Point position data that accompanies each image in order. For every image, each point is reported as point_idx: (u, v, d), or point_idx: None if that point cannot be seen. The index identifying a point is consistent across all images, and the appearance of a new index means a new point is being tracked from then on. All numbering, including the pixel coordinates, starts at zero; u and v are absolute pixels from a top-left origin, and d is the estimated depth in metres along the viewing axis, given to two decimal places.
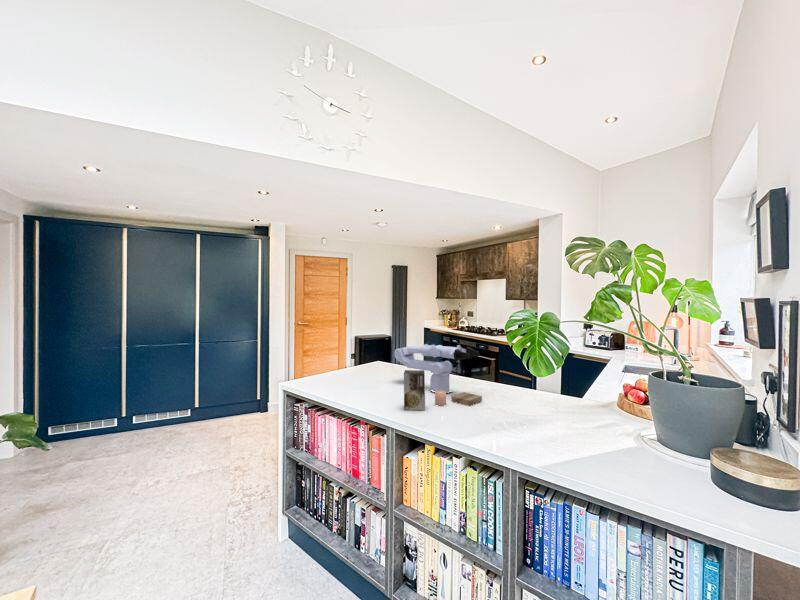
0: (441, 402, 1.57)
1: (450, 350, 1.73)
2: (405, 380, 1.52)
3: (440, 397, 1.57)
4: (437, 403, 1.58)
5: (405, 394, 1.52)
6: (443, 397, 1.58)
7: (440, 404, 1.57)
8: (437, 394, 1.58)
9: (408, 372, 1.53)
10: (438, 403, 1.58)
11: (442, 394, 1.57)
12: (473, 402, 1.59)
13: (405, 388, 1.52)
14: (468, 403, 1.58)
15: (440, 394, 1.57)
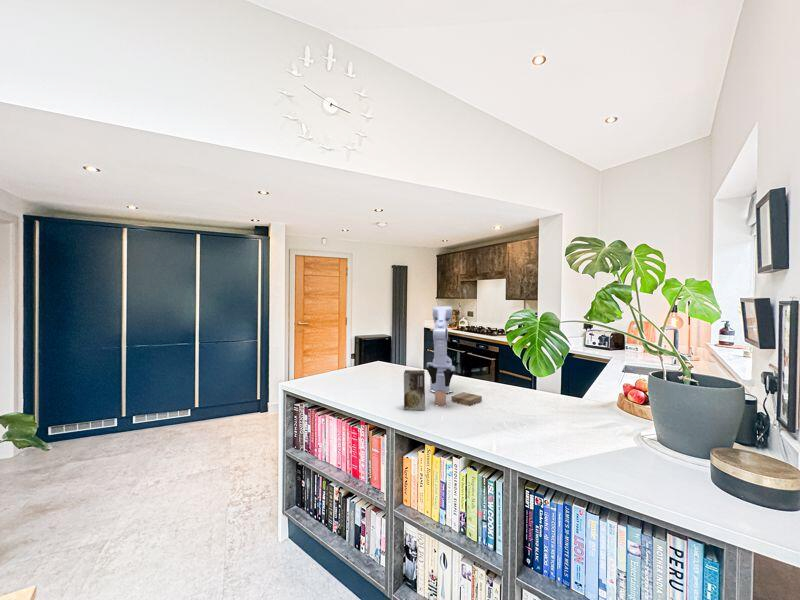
0: (441, 402, 1.57)
1: (434, 357, 1.60)
2: (405, 380, 1.52)
3: (440, 397, 1.57)
4: (437, 403, 1.58)
5: (405, 394, 1.52)
6: (443, 397, 1.58)
7: (440, 404, 1.57)
8: (437, 394, 1.58)
9: (408, 372, 1.53)
10: (438, 403, 1.58)
11: (442, 394, 1.57)
12: (473, 402, 1.59)
13: (405, 388, 1.52)
14: (468, 403, 1.58)
15: (440, 394, 1.57)
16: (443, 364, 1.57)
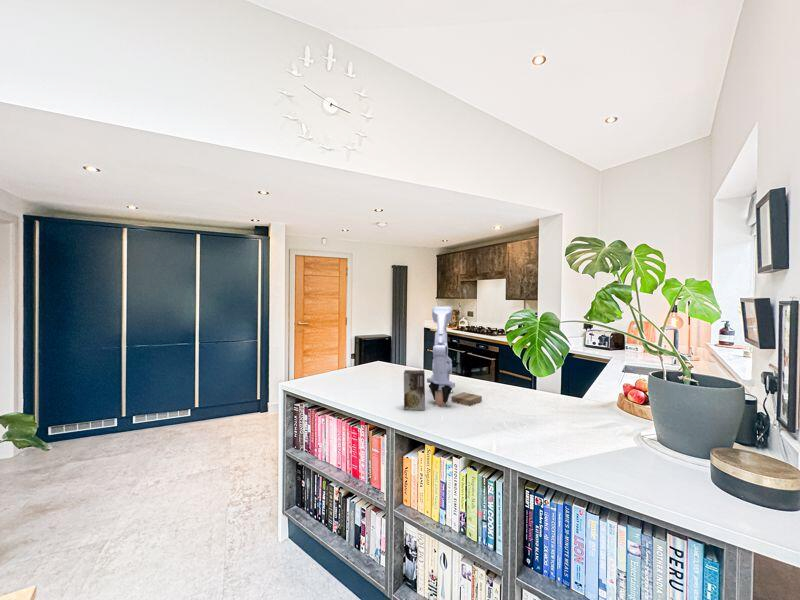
0: (441, 402, 1.57)
1: (434, 373, 1.60)
2: (405, 380, 1.52)
3: (440, 397, 1.57)
4: (437, 403, 1.58)
5: (405, 394, 1.52)
6: None
7: (440, 404, 1.57)
8: (437, 394, 1.58)
9: (408, 372, 1.53)
10: (438, 403, 1.58)
11: (442, 394, 1.57)
12: (473, 402, 1.59)
13: (405, 388, 1.52)
14: (468, 403, 1.58)
15: (440, 394, 1.57)
16: (443, 381, 1.57)
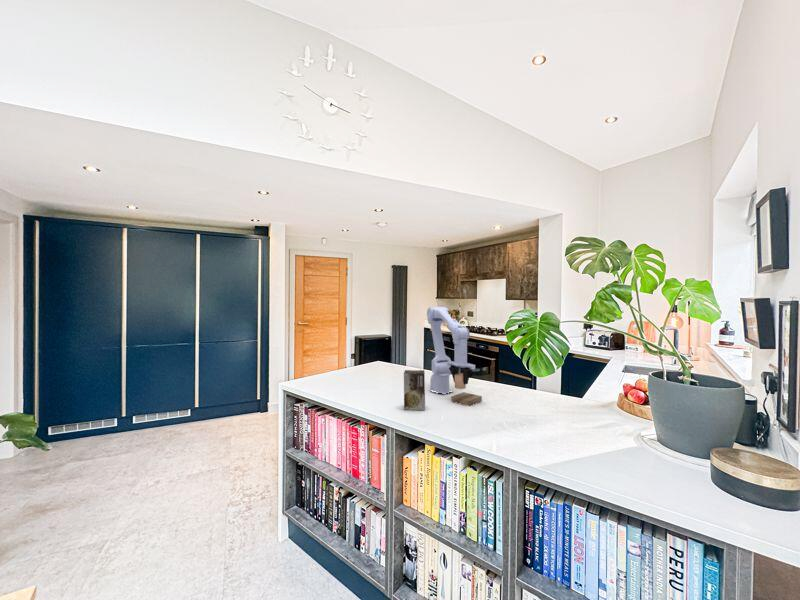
0: (460, 385, 1.60)
1: (454, 356, 1.64)
2: (405, 380, 1.52)
3: (459, 380, 1.61)
4: (457, 386, 1.61)
5: (405, 394, 1.52)
6: (462, 380, 1.61)
7: (459, 387, 1.61)
8: (456, 377, 1.61)
9: (408, 372, 1.53)
10: (458, 386, 1.61)
11: (461, 377, 1.60)
12: (473, 402, 1.59)
13: (405, 388, 1.52)
14: (468, 403, 1.58)
15: (459, 377, 1.60)
16: (463, 363, 1.61)
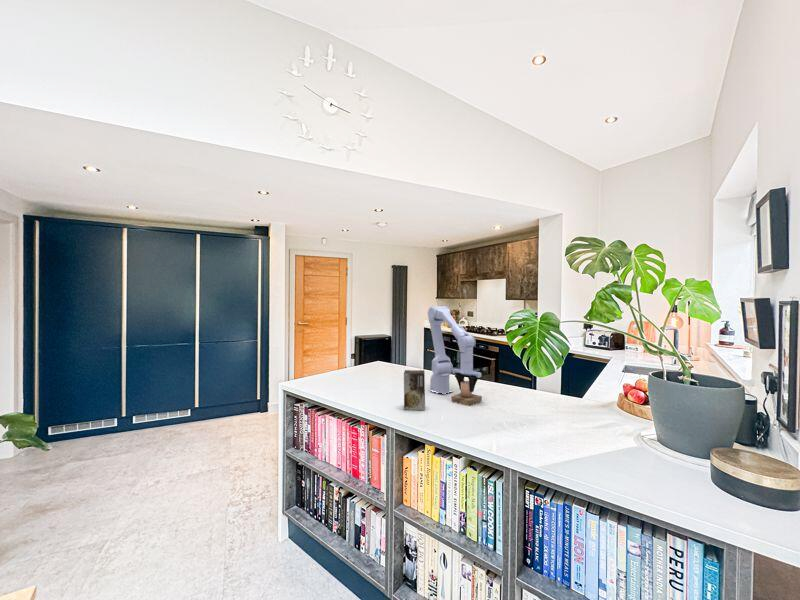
0: (467, 393, 1.61)
1: (460, 364, 1.65)
2: (405, 380, 1.52)
3: (466, 388, 1.62)
4: (463, 393, 1.62)
5: (405, 394, 1.52)
6: (468, 388, 1.62)
7: (466, 394, 1.62)
8: (462, 385, 1.62)
9: (408, 372, 1.53)
10: (464, 393, 1.62)
11: (467, 385, 1.61)
12: (473, 402, 1.59)
13: (405, 388, 1.52)
14: (468, 403, 1.58)
15: (465, 385, 1.62)
16: (469, 371, 1.62)
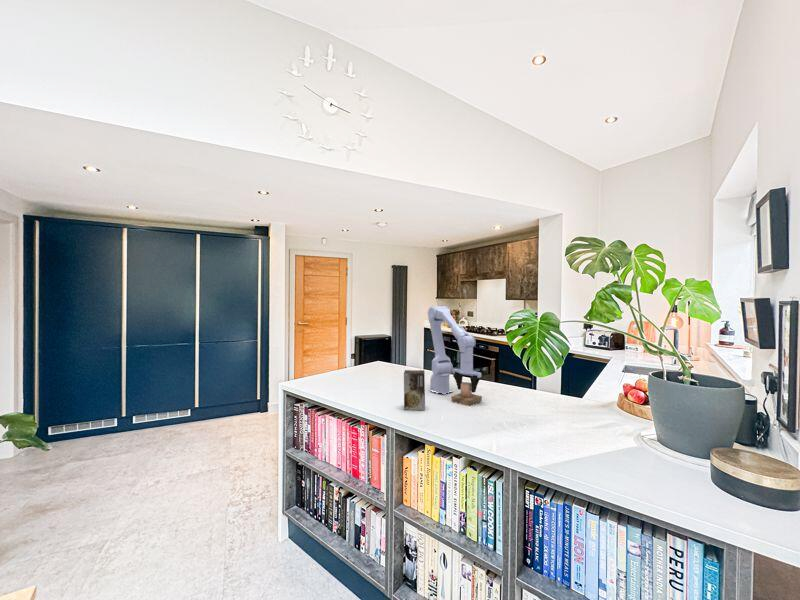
0: (467, 394, 1.62)
1: (460, 364, 1.65)
2: (405, 380, 1.52)
3: (466, 389, 1.62)
4: (463, 395, 1.62)
5: (405, 394, 1.52)
6: (469, 389, 1.62)
7: (466, 396, 1.62)
8: (462, 386, 1.62)
9: (408, 372, 1.53)
10: (464, 395, 1.62)
11: (468, 386, 1.62)
12: (473, 402, 1.59)
13: (405, 388, 1.52)
14: (468, 403, 1.58)
15: (466, 386, 1.62)
16: (469, 371, 1.62)
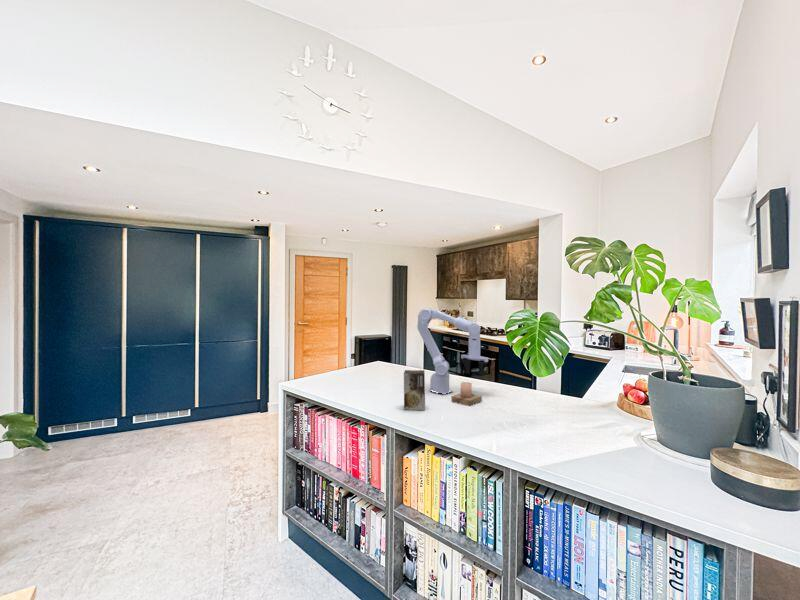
0: (467, 394, 1.62)
1: None
2: (405, 380, 1.52)
3: (466, 389, 1.62)
4: (463, 395, 1.62)
5: (405, 394, 1.52)
6: (469, 389, 1.62)
7: (466, 396, 1.62)
8: (462, 386, 1.62)
9: (408, 372, 1.53)
10: (464, 395, 1.62)
11: (468, 386, 1.62)
12: (473, 402, 1.59)
13: (405, 388, 1.52)
14: (468, 403, 1.58)
15: (466, 386, 1.62)
16: (477, 356, 1.74)
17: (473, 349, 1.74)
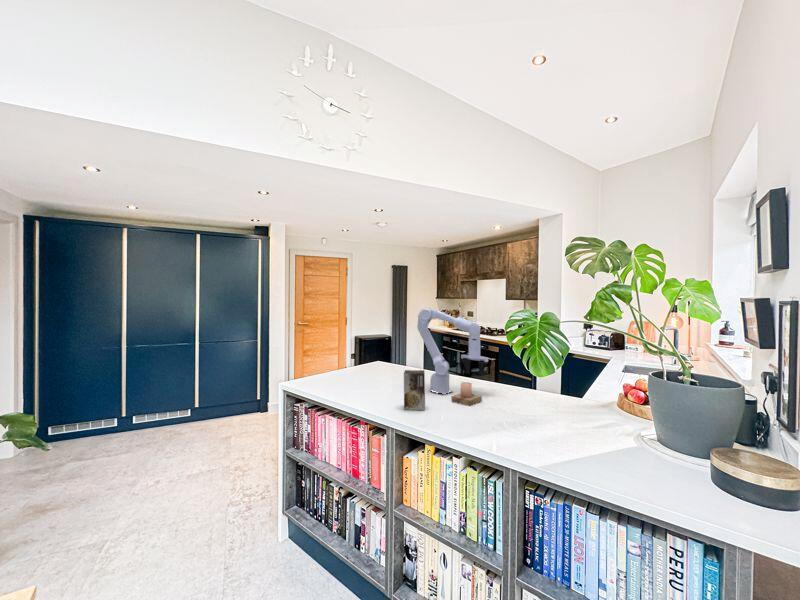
0: (467, 394, 1.62)
1: None
2: (405, 380, 1.52)
3: (466, 389, 1.62)
4: (463, 395, 1.62)
5: (405, 394, 1.52)
6: (469, 389, 1.62)
7: (466, 396, 1.62)
8: (462, 386, 1.62)
9: (408, 372, 1.53)
10: (464, 395, 1.62)
11: (468, 386, 1.62)
12: (473, 402, 1.59)
13: (405, 388, 1.52)
14: (468, 403, 1.58)
15: (466, 386, 1.62)
16: (477, 356, 1.74)
17: (473, 349, 1.74)
